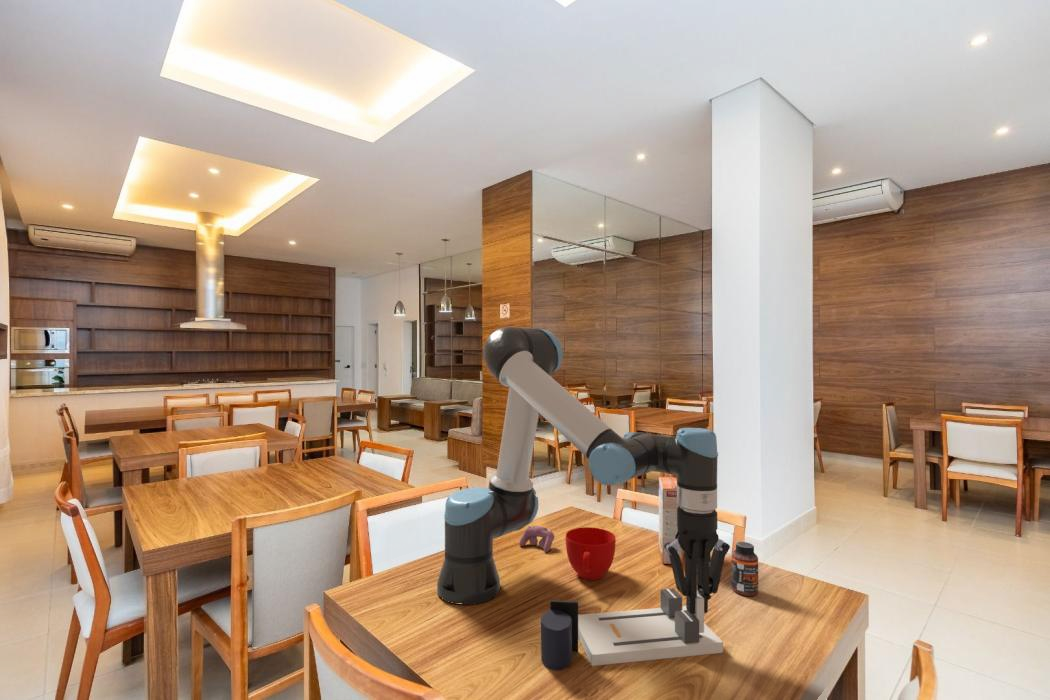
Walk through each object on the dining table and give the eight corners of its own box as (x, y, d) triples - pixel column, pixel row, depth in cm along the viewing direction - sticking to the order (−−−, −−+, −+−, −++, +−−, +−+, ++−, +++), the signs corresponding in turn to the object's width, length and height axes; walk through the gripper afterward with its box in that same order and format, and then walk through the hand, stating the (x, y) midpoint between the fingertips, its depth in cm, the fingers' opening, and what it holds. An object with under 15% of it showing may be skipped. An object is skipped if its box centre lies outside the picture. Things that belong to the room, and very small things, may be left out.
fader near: (684, 643, 93) (684, 621, 93) (674, 631, 97) (674, 610, 97) (699, 641, 93) (699, 620, 93) (688, 630, 97) (688, 609, 97)
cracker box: (684, 566, 132) (684, 489, 133) (661, 564, 133) (661, 487, 134) (679, 547, 146) (678, 476, 146) (658, 545, 147) (657, 475, 147)
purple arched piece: (552, 555, 144) (557, 530, 147) (546, 552, 140) (551, 527, 143) (524, 548, 149) (529, 524, 152) (517, 545, 145) (522, 521, 148)
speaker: (551, 642, 96) (551, 592, 95) (578, 651, 94) (579, 600, 93) (535, 668, 90) (535, 614, 89) (564, 678, 87) (565, 624, 86)
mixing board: (592, 665, 89) (592, 654, 89) (572, 624, 103) (572, 614, 103) (723, 652, 93) (723, 641, 93) (687, 614, 107) (687, 605, 107)
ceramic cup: (559, 589, 119) (559, 548, 119) (569, 561, 135) (569, 525, 135) (613, 596, 116) (613, 553, 116) (616, 566, 132) (616, 529, 132)
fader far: (668, 617, 102) (668, 598, 102) (660, 608, 106) (660, 589, 106) (682, 616, 102) (682, 597, 102) (673, 606, 106) (673, 588, 106)
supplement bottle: (745, 599, 114) (744, 550, 114) (725, 588, 120) (725, 541, 120) (764, 594, 117) (763, 547, 117) (744, 584, 122) (744, 538, 122)
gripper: (674, 515, 91) (674, 643, 91) (738, 512, 93) (738, 636, 93) (657, 503, 99) (657, 621, 98) (716, 501, 101) (717, 616, 100)
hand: (697, 628), depth 96 cm, fingers closed
